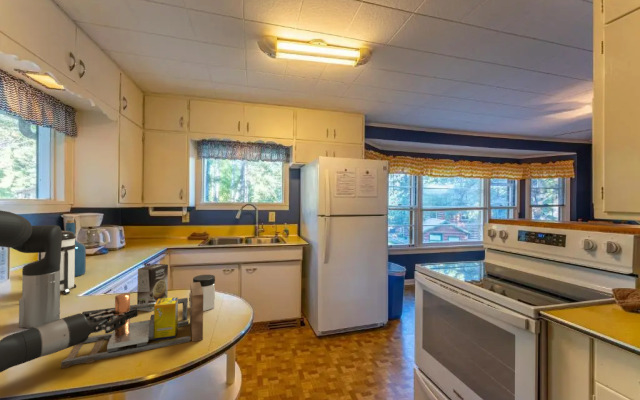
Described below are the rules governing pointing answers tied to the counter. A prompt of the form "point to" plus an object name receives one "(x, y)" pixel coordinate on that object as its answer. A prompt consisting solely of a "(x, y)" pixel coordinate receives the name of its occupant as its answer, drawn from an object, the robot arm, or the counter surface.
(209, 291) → the jar
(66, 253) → the coffee press
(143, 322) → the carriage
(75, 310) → the counter surface
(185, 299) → the handrail
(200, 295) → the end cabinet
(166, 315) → the supplement box
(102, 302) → the counter surface
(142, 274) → the coffee box
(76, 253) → the teal bottle
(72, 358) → the track
